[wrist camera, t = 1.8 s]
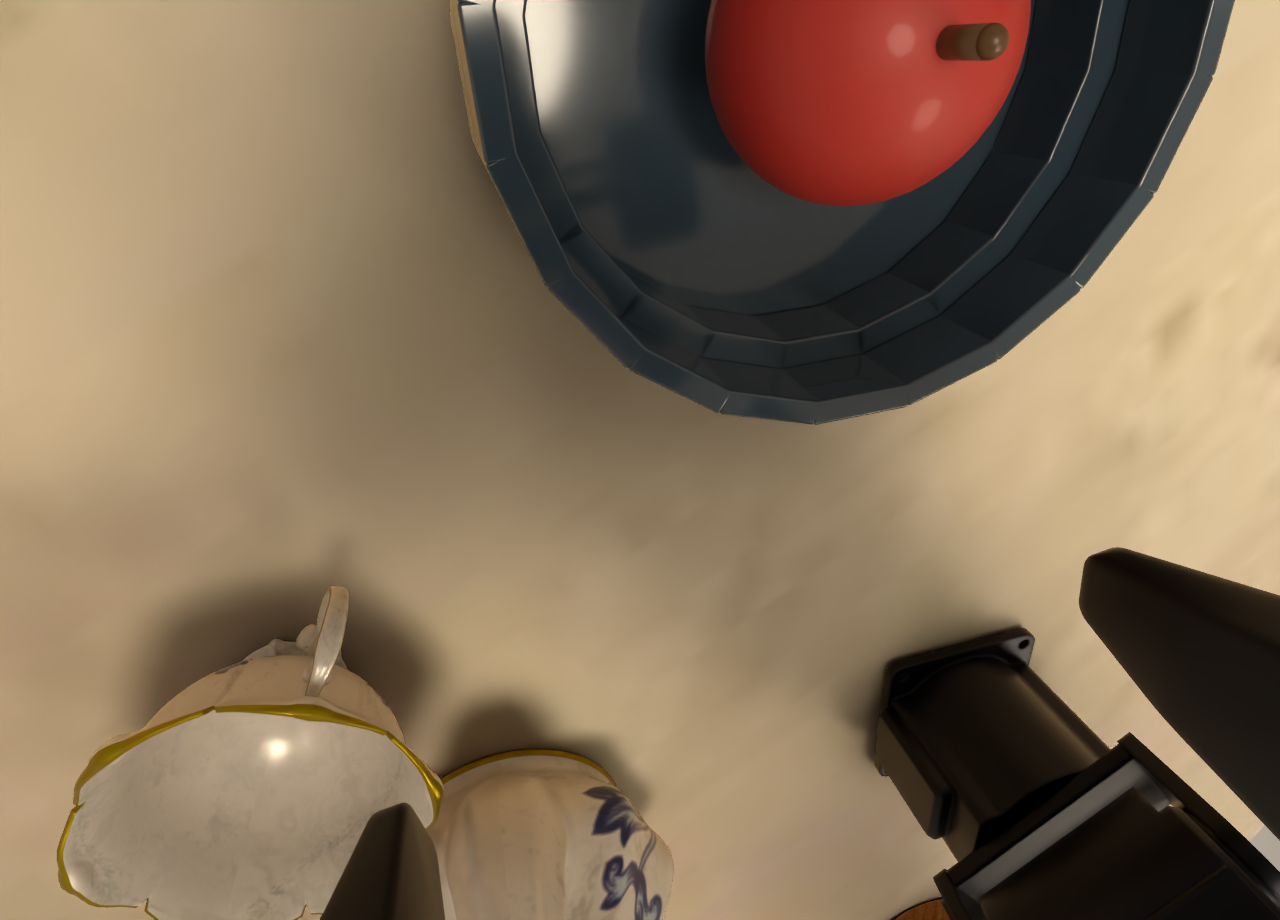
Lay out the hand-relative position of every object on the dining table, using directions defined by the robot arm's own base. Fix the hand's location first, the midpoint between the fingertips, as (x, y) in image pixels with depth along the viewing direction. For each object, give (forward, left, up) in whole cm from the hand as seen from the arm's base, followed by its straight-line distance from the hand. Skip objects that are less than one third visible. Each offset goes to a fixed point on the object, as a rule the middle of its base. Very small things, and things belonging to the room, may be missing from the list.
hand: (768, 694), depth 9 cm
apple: (-6, -7, -12) cm, 15 cm away
